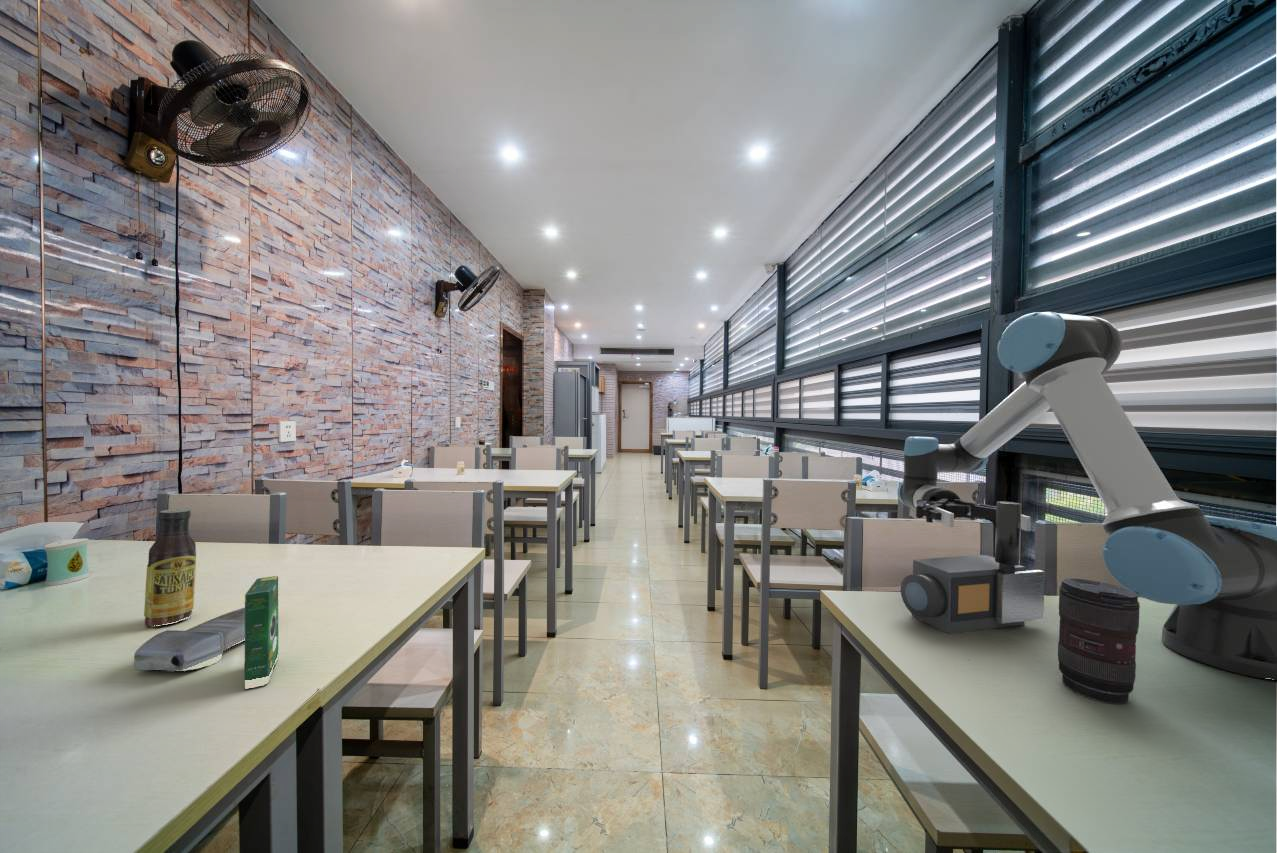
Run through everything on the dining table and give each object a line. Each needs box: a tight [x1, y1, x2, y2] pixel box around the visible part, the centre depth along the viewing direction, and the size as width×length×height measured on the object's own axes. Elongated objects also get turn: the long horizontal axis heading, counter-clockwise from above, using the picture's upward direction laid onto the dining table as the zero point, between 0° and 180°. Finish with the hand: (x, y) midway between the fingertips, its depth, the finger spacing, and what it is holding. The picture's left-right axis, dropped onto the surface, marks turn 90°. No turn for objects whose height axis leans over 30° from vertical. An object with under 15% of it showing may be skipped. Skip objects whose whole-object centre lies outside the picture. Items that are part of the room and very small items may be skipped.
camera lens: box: [1057, 577, 1141, 705], centre depth 66 cm, size 8×8×15 cm
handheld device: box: [133, 607, 245, 672], centre depth 75 cm, size 10×20×5 cm, turn 178°
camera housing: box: [900, 554, 1027, 634], centre depth 88 cm, size 21×8×11 cm, turn 104°
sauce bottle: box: [143, 508, 197, 627], centre depth 82 cm, size 6×6×20 cm
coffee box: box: [243, 575, 279, 680], centre depth 66 cm, size 8×3×13 cm, turn 30°
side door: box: [994, 500, 1046, 624], centre depth 86 cm, size 10×4×22 cm, turn 104°
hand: (989, 522), depth 90 cm, fingers open, 13 cm apart
